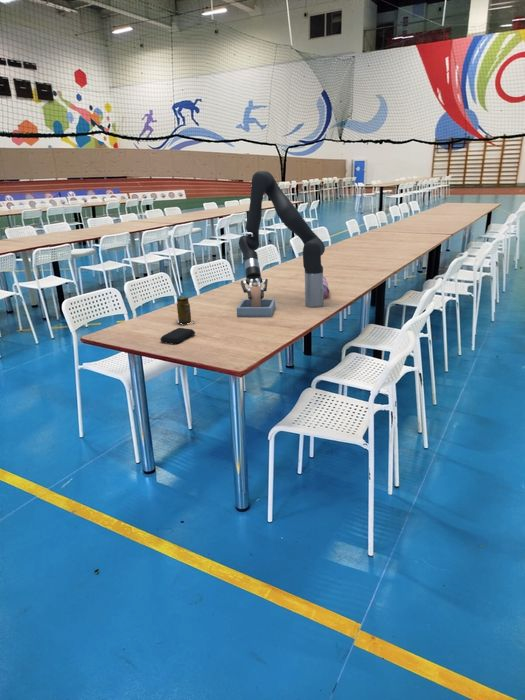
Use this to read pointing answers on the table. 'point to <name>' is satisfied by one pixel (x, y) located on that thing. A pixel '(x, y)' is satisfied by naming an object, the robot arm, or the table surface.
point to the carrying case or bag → (177, 335)
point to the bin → (256, 308)
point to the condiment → (183, 311)
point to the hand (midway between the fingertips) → (256, 298)
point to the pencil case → (325, 288)
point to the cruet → (255, 295)
